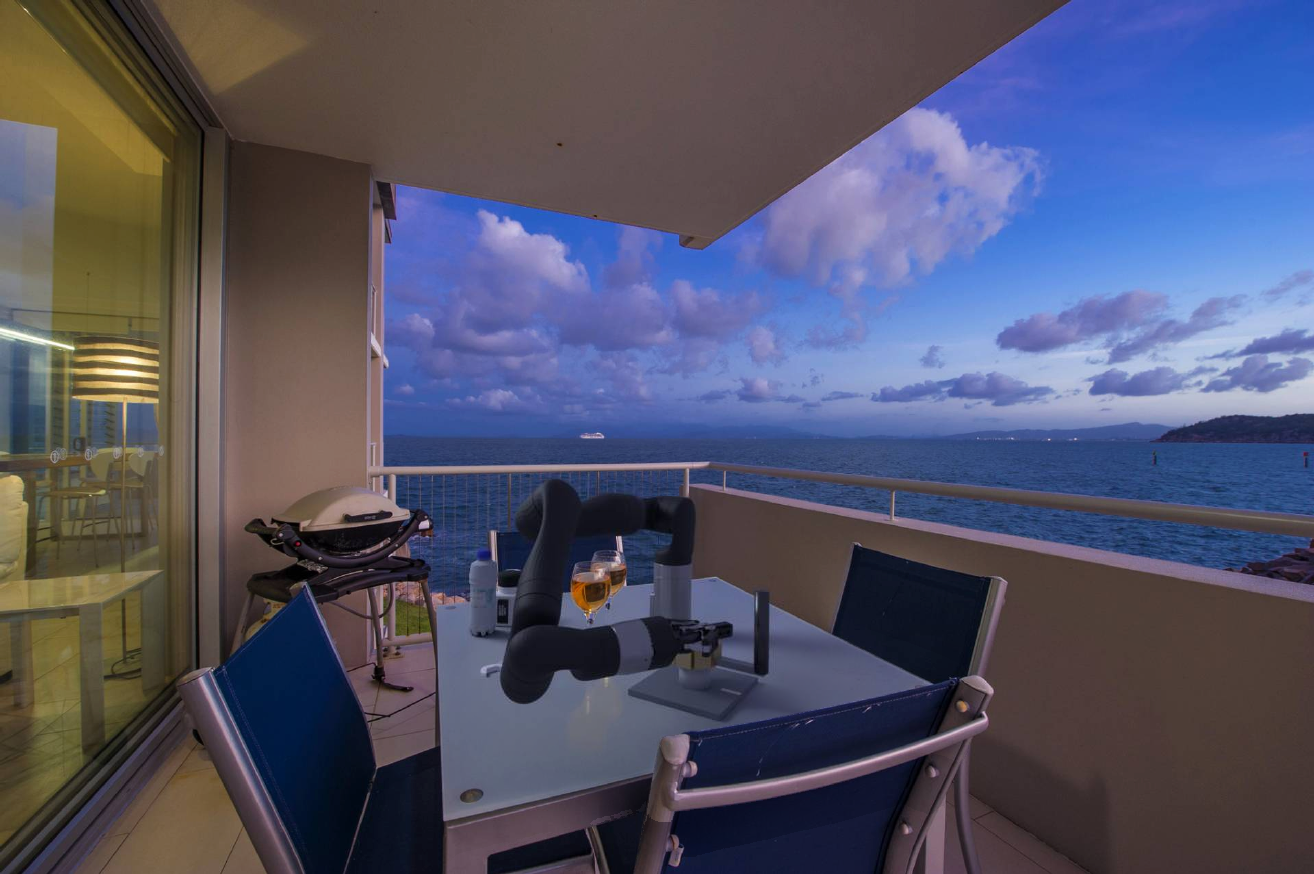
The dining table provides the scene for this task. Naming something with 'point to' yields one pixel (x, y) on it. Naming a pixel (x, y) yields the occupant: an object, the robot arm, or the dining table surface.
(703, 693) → the slate plate
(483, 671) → the wrench
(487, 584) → the bottle
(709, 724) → the dining table surface
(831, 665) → the dining table surface
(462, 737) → the dining table surface
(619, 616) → the dining table surface
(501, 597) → the container
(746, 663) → the black bar with brass
